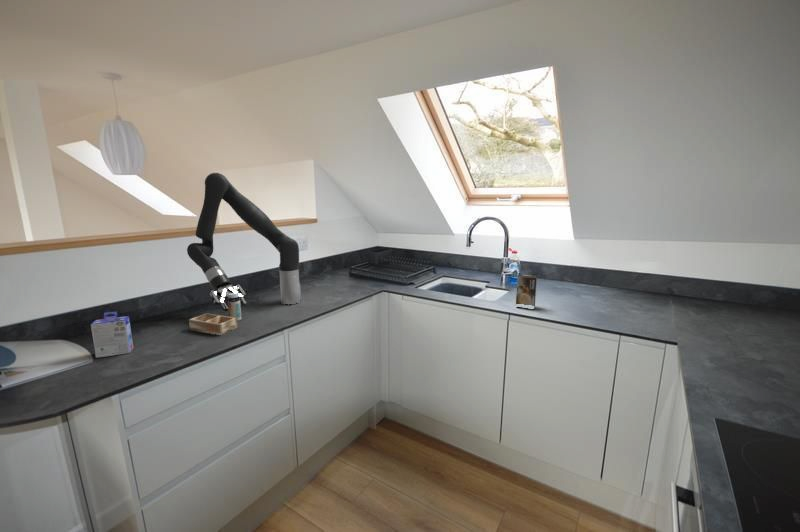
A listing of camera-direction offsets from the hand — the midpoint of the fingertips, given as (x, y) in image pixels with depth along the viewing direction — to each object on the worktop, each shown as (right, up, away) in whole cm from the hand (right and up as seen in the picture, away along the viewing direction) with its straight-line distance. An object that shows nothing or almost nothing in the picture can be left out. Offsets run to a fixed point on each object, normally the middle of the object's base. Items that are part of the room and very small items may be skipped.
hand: (236, 307), depth 160 cm
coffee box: (+134, -3, +23) cm, 136 cm away
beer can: (-1, -6, +2) cm, 6 cm away
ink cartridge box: (-28, -12, -31) cm, 44 cm away
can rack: (-5, -8, -9) cm, 13 cm away
